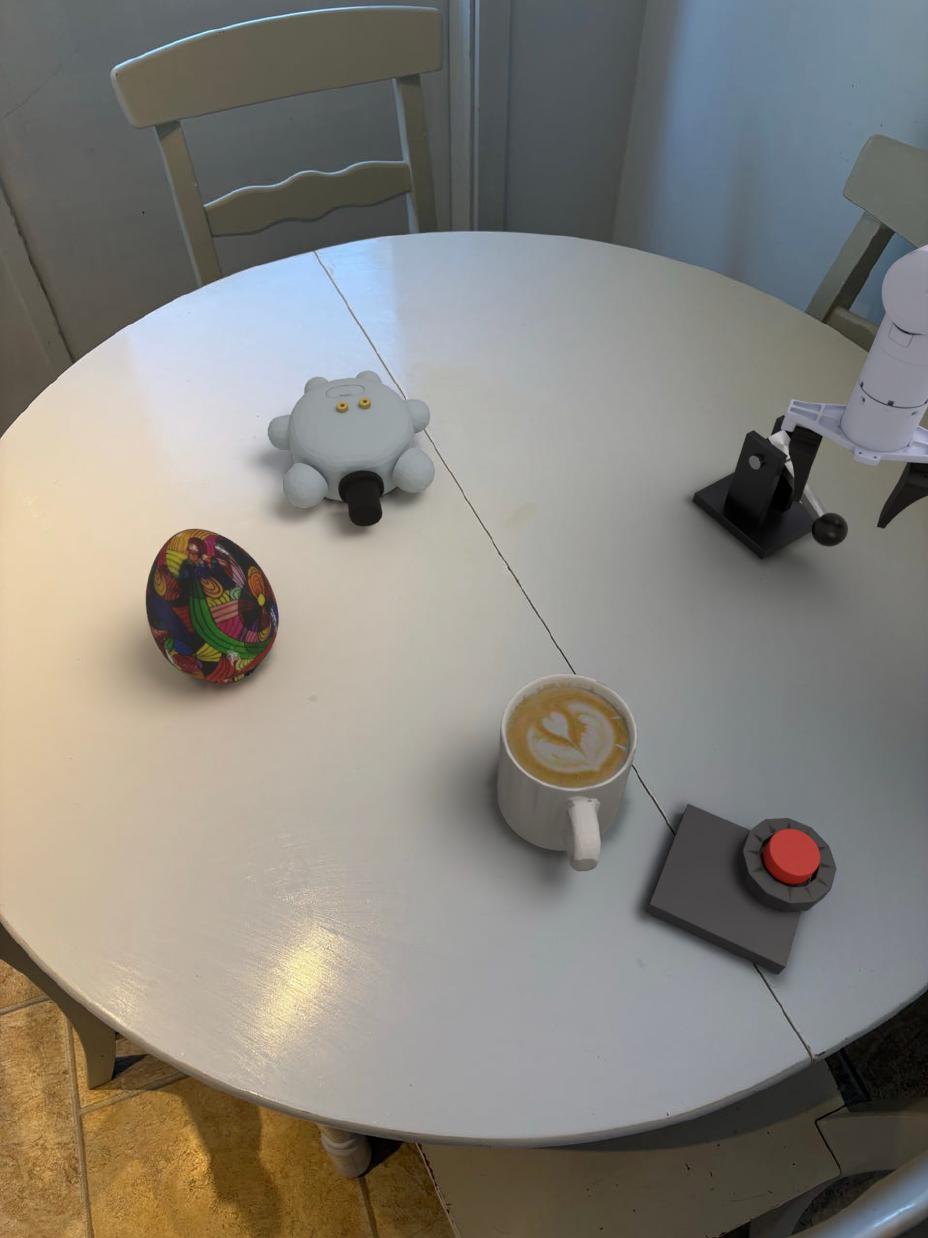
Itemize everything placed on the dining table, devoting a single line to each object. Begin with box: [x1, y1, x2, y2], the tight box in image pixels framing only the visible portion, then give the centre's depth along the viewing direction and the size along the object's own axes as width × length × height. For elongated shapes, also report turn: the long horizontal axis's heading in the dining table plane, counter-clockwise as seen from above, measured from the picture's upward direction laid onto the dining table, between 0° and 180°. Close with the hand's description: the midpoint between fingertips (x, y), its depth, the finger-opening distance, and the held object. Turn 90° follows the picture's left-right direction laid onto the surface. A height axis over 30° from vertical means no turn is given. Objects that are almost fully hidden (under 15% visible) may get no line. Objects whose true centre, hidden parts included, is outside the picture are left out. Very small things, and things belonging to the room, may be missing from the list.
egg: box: [145, 528, 280, 684], centre depth 75 cm, size 11×11×15 cm
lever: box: [765, 430, 849, 548], centre depth 84 cm, size 12×3×3 cm, turn 34°
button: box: [763, 829, 820, 885], centre depth 65 cm, size 4×4×2 cm
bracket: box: [692, 414, 814, 560], centre depth 88 cm, size 10×8×10 cm
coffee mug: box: [496, 673, 639, 872], centre depth 67 cm, size 13×10×10 cm
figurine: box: [267, 369, 436, 528], centre depth 93 cm, size 17×8×20 cm
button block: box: [645, 803, 837, 975], centre depth 66 cm, size 11×10×4 cm
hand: (839, 507), depth 82 cm, fingers open, 7 cm apart
